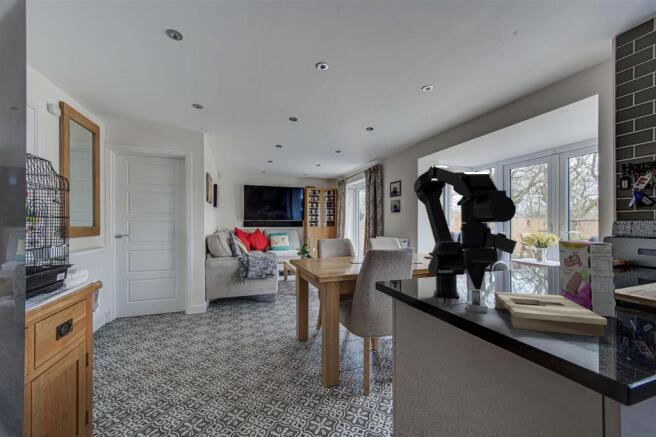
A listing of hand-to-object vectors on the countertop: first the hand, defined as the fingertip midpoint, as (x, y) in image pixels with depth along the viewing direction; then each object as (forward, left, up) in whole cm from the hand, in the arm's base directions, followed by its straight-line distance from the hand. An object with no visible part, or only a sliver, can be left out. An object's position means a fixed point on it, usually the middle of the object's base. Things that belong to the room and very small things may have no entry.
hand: (475, 286), depth 68 cm
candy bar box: (-7, +24, -6) cm, 26 cm away
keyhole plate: (+4, +12, -6) cm, 14 cm away
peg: (0, 0, -6) cm, 6 cm away
